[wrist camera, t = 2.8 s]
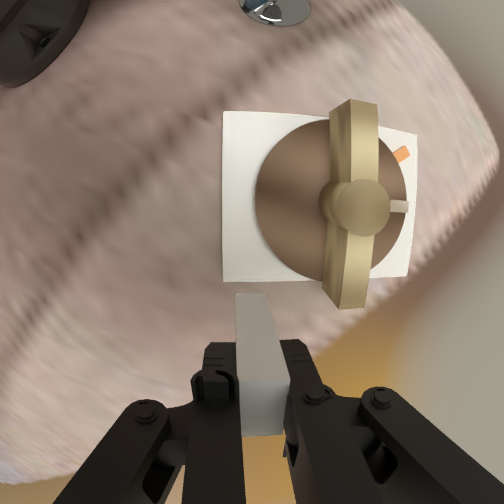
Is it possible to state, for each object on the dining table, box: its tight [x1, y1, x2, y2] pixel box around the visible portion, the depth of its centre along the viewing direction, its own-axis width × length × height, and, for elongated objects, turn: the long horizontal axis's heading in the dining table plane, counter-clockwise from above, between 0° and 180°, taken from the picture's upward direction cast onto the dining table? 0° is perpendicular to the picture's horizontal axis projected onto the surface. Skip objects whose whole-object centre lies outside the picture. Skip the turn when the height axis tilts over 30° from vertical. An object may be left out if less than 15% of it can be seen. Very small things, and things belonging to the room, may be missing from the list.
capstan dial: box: [254, 99, 409, 310], centre depth 19 cm, size 14×13×6 cm
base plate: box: [222, 111, 417, 282], centre depth 22 cm, size 14×18×2 cm
